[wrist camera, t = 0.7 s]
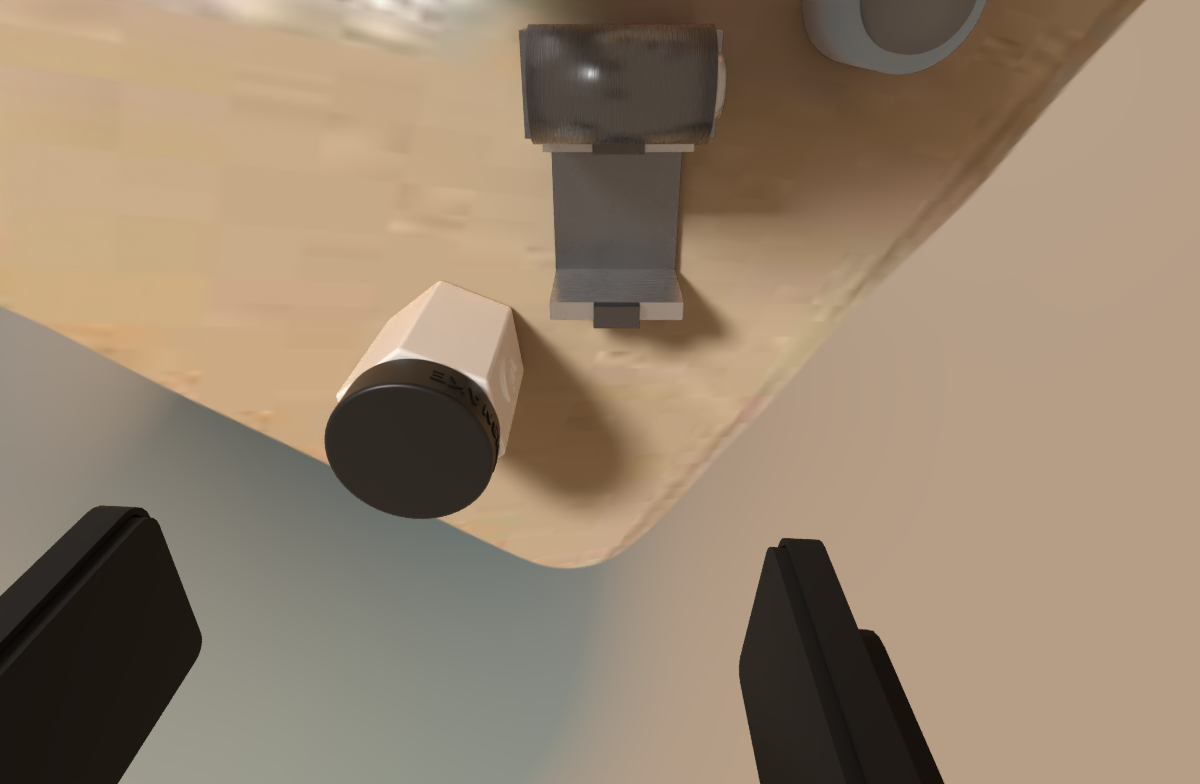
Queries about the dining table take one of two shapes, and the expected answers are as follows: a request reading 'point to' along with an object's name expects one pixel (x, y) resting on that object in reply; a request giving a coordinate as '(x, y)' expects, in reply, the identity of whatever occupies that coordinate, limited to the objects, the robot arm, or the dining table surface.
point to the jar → (428, 406)
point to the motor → (619, 156)
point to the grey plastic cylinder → (889, 31)
